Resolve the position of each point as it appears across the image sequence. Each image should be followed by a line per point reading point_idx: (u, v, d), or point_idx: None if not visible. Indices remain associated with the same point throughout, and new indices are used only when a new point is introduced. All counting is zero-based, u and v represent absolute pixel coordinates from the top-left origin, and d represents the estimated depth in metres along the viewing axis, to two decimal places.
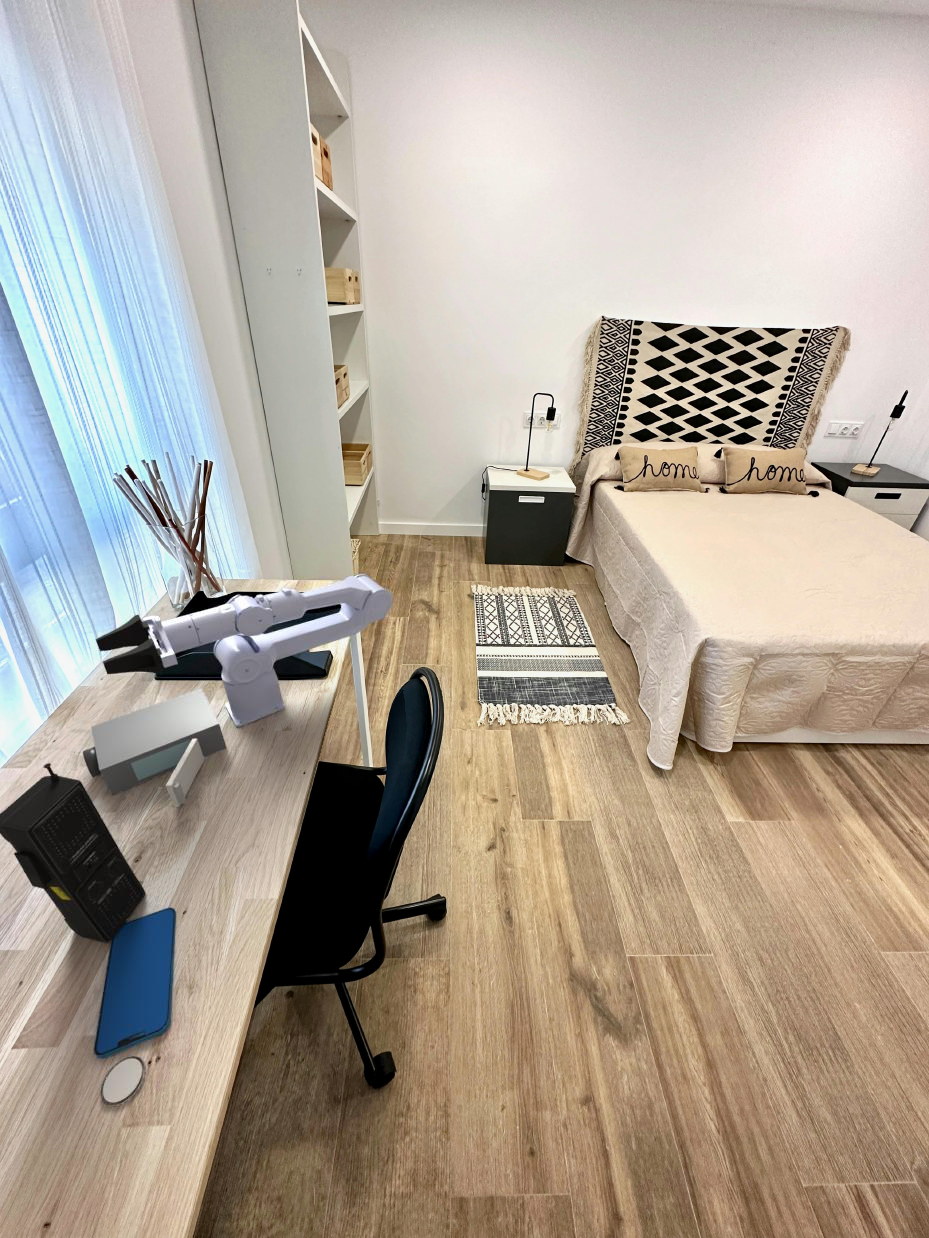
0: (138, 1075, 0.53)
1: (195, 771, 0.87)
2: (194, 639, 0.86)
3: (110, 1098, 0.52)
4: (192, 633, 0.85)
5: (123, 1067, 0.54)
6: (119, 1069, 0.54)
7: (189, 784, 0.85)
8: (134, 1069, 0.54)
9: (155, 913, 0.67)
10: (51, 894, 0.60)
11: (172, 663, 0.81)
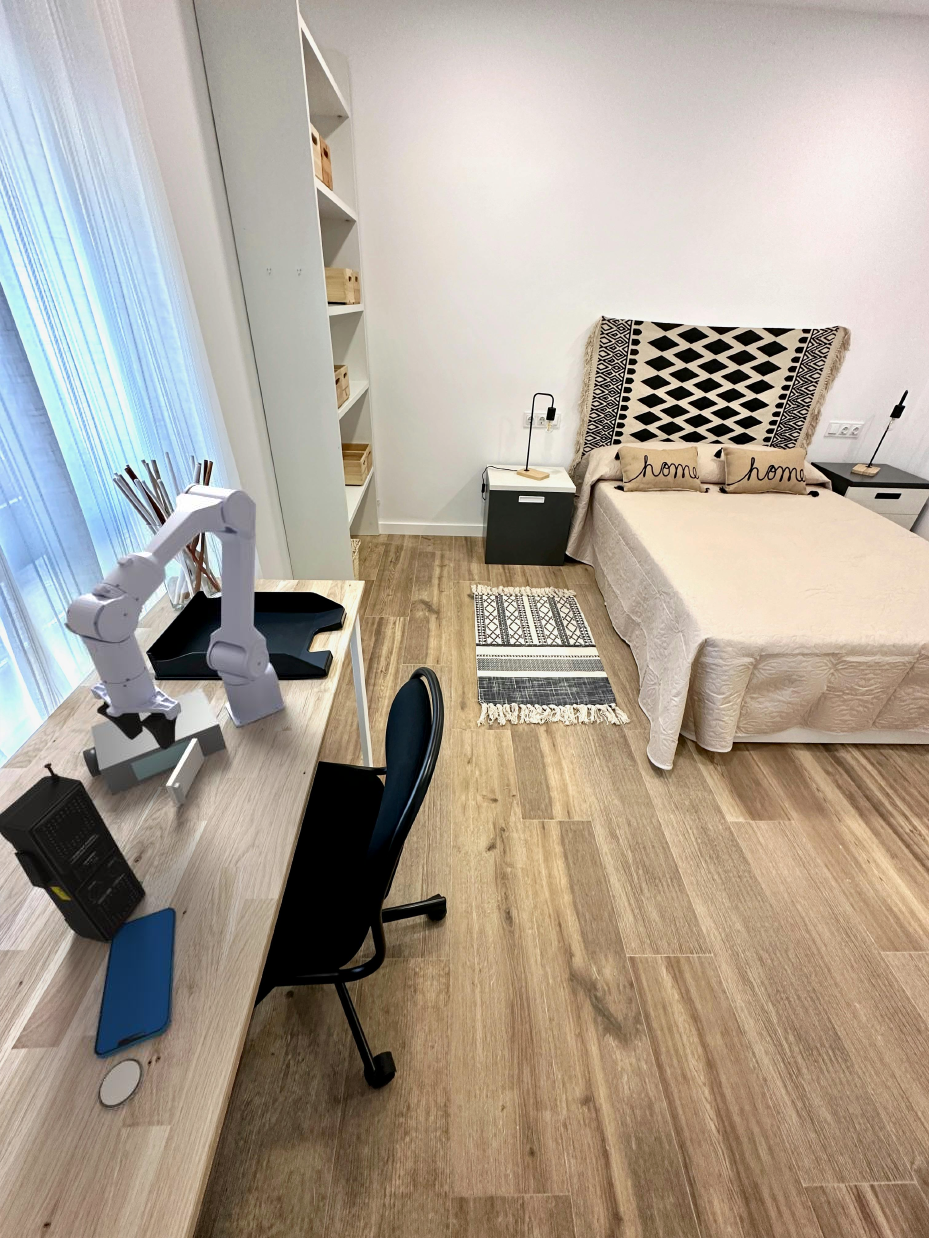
0: (136, 1077, 0.53)
1: (195, 771, 0.87)
2: (141, 678, 0.73)
3: (107, 1100, 0.52)
4: (134, 683, 0.72)
5: (121, 1069, 0.54)
6: (116, 1072, 0.54)
7: (189, 784, 0.85)
8: (132, 1071, 0.54)
9: (155, 913, 0.67)
10: (51, 894, 0.60)
11: (178, 707, 0.74)
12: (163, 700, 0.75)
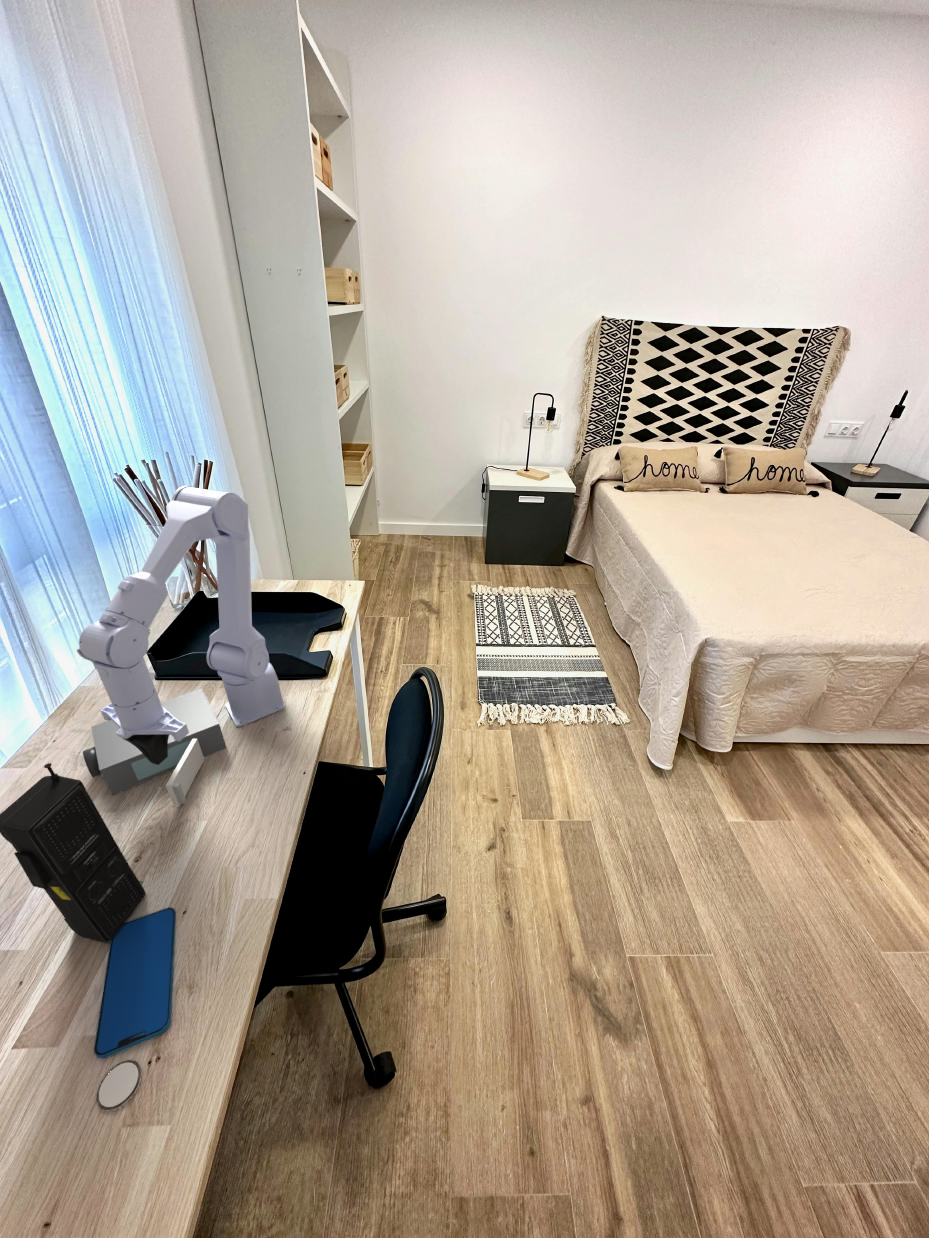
0: (134, 1079, 0.53)
1: (195, 771, 0.87)
2: (150, 701, 0.75)
3: (106, 1102, 0.51)
4: (143, 706, 0.74)
5: (119, 1071, 0.54)
6: (115, 1073, 0.53)
7: (189, 784, 0.85)
8: (130, 1073, 0.53)
9: (155, 913, 0.67)
10: (51, 894, 0.60)
11: (185, 728, 0.77)
12: (171, 722, 0.77)
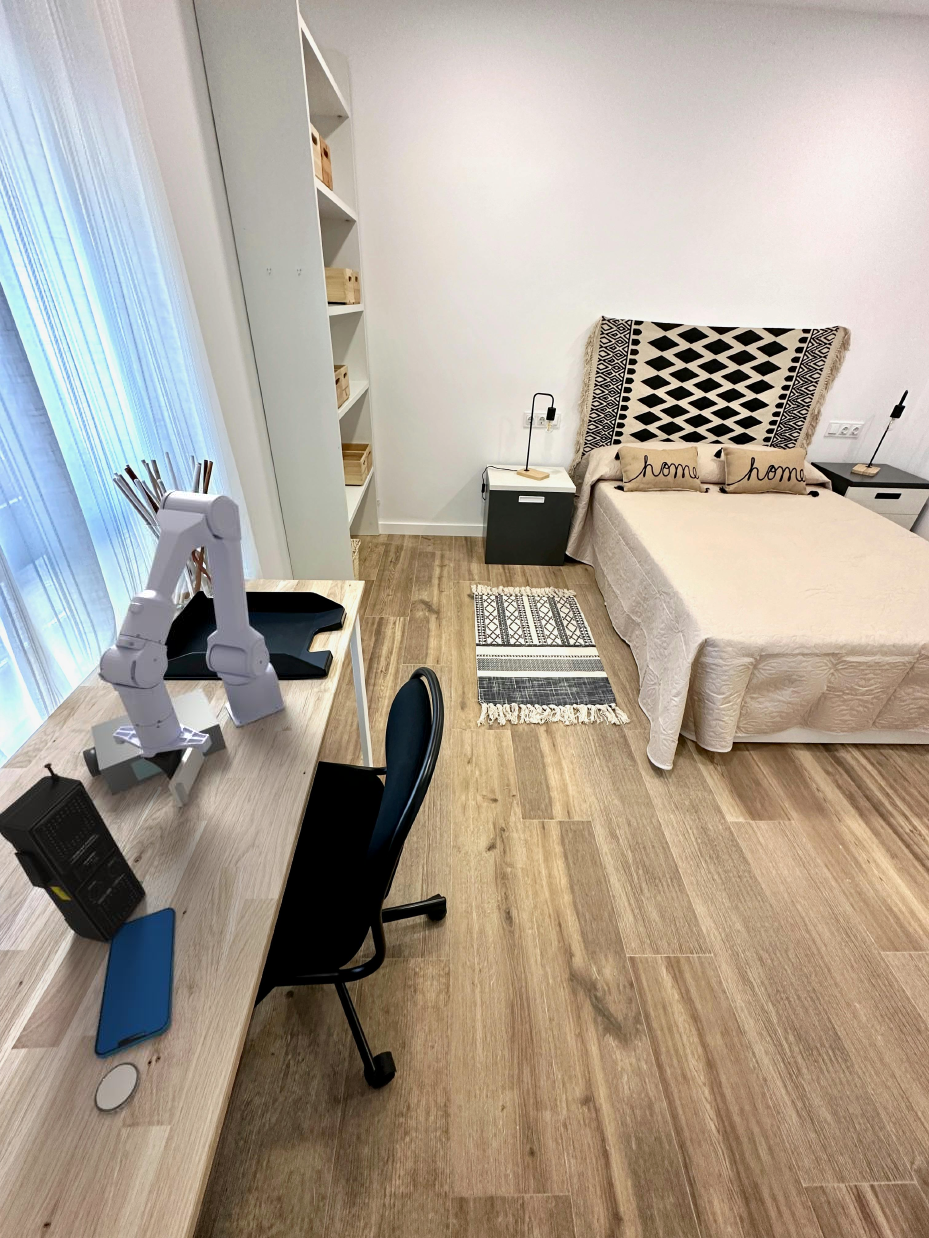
0: (132, 1081, 0.53)
1: (196, 771, 0.87)
2: (171, 718, 0.77)
3: (104, 1105, 0.51)
4: (166, 722, 0.76)
5: (117, 1074, 0.53)
6: (112, 1076, 0.53)
7: (191, 784, 0.85)
8: (128, 1075, 0.53)
9: (154, 913, 0.67)
10: (51, 894, 0.60)
11: (208, 739, 0.79)
12: (192, 735, 0.79)
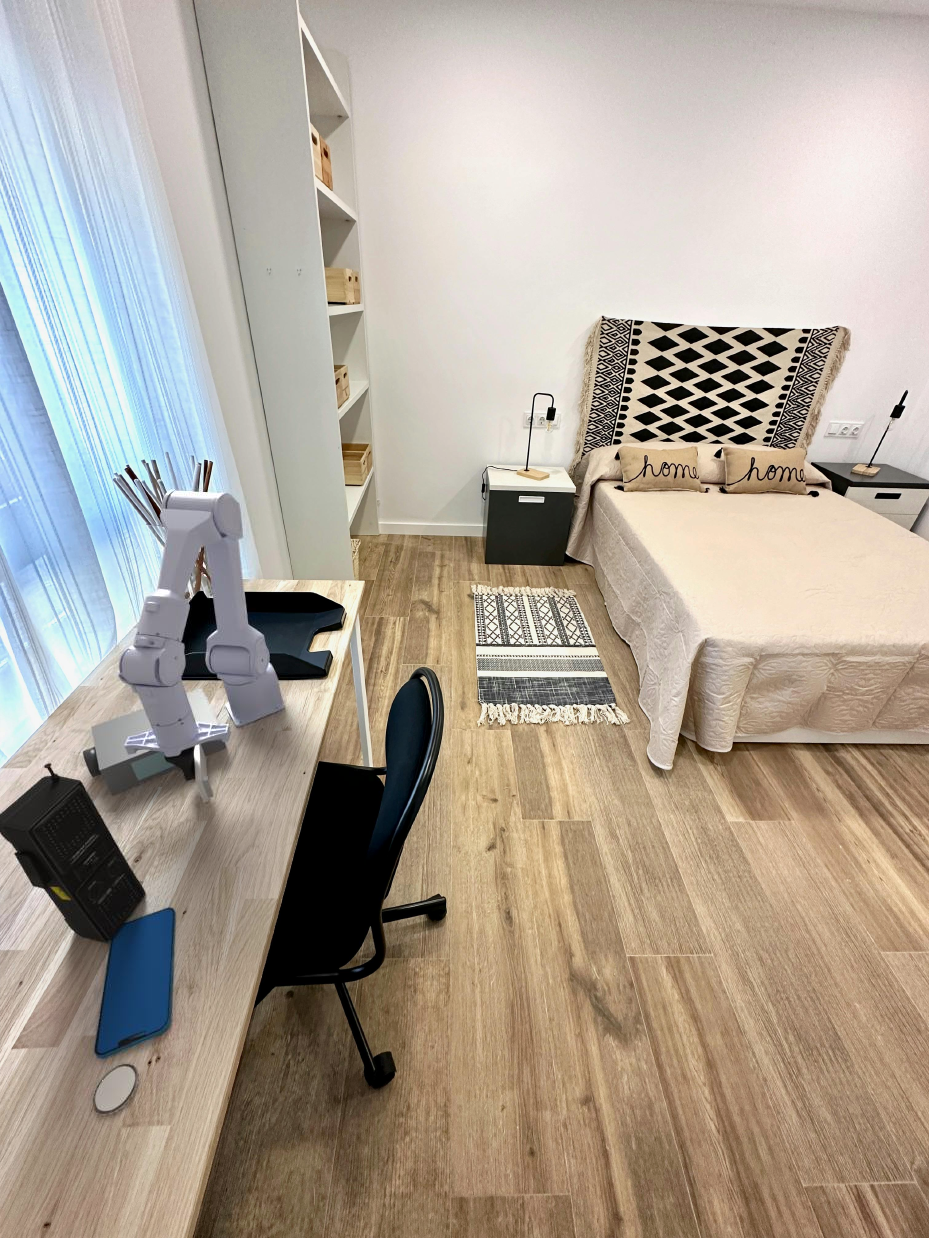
0: (131, 1082, 0.53)
1: (205, 769, 0.87)
2: (191, 713, 0.78)
3: (103, 1107, 0.51)
4: (188, 718, 0.77)
5: (115, 1075, 0.53)
6: (111, 1078, 0.53)
7: None
8: (127, 1076, 0.53)
9: (154, 913, 0.67)
10: (51, 894, 0.60)
11: (229, 728, 0.81)
12: (211, 728, 0.81)
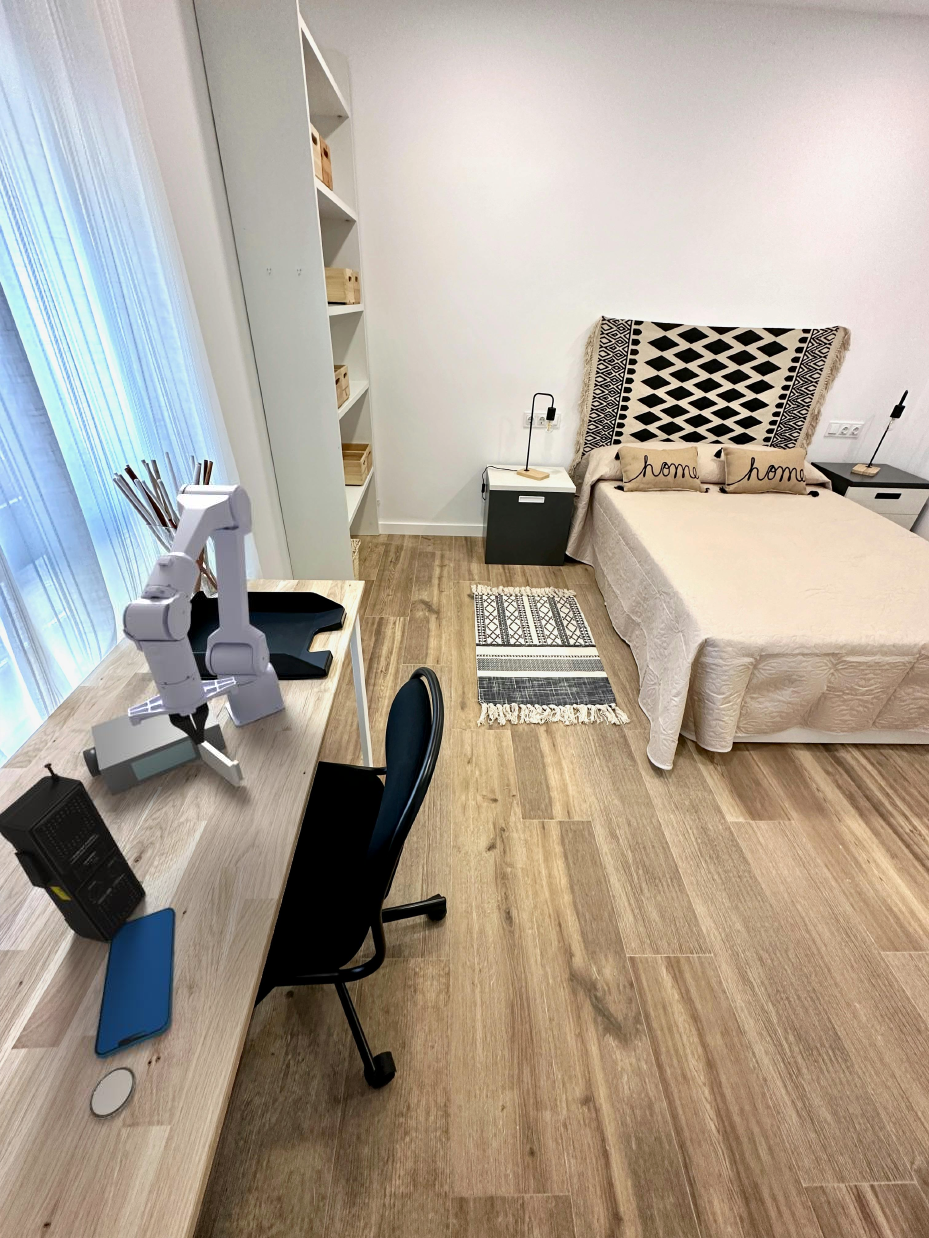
0: (128, 1085, 0.53)
1: None
2: (197, 669, 0.75)
3: (100, 1111, 0.51)
4: (197, 673, 0.75)
5: (112, 1079, 0.53)
6: (108, 1081, 0.53)
7: None
8: (124, 1080, 0.53)
9: (154, 913, 0.67)
10: (51, 894, 0.60)
11: None
12: (217, 684, 0.79)
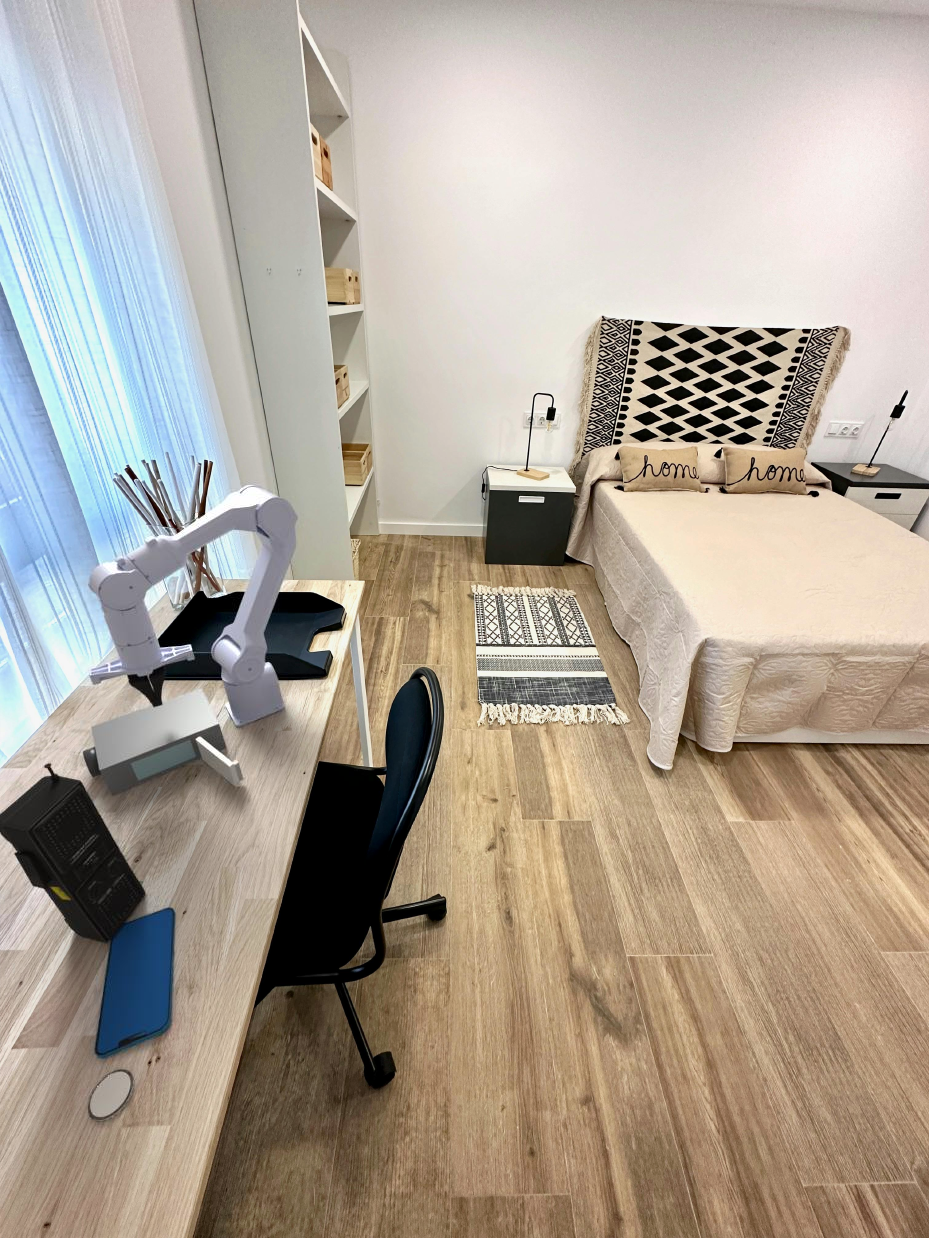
0: (127, 1087, 0.53)
1: None
2: (155, 635, 0.82)
3: (98, 1113, 0.51)
4: (155, 638, 0.81)
5: (110, 1081, 0.53)
6: (106, 1084, 0.53)
7: None
8: (122, 1082, 0.53)
9: (154, 913, 0.67)
10: (51, 894, 0.60)
11: None
12: (174, 650, 0.86)
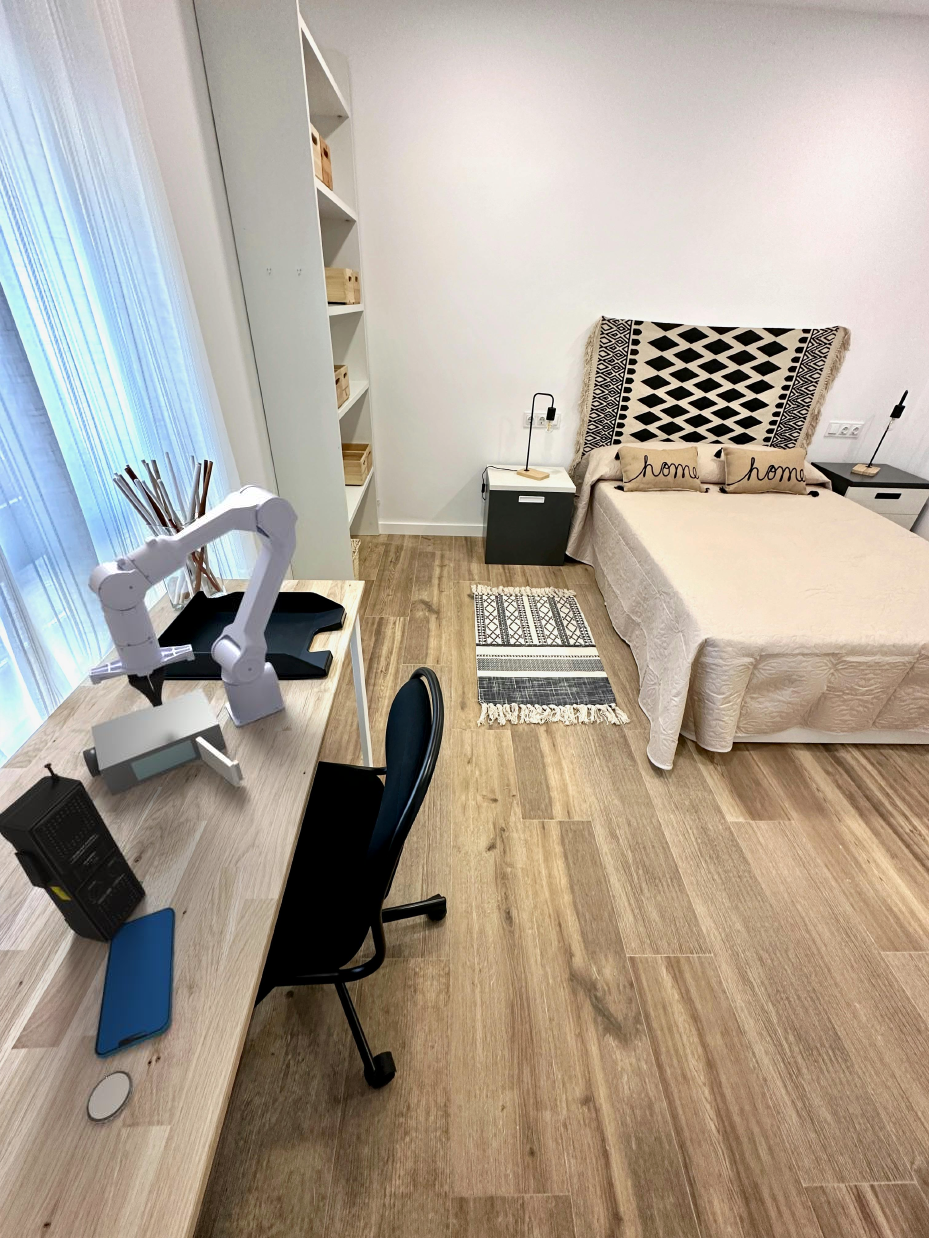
0: (125, 1088, 0.52)
1: None
2: (155, 635, 0.82)
3: (97, 1115, 0.51)
4: (155, 638, 0.81)
5: (108, 1083, 0.53)
6: (104, 1085, 0.53)
7: None
8: (120, 1083, 0.53)
9: (154, 913, 0.67)
10: (51, 894, 0.60)
11: None
12: (174, 650, 0.86)
